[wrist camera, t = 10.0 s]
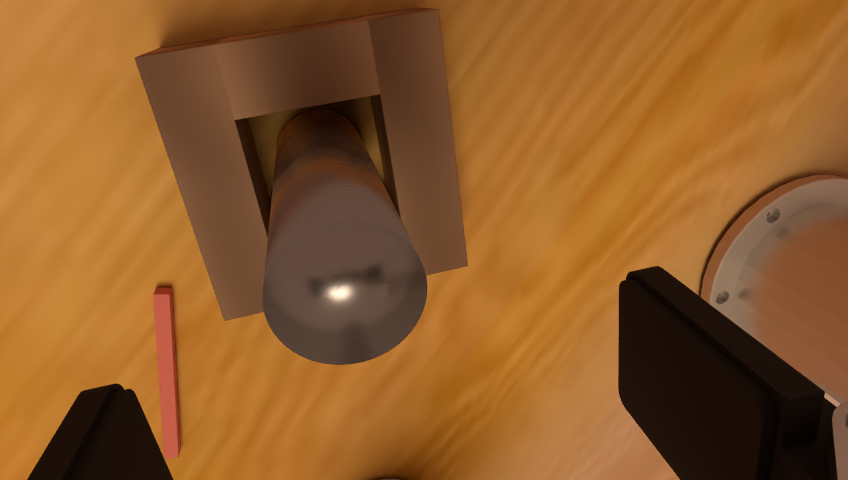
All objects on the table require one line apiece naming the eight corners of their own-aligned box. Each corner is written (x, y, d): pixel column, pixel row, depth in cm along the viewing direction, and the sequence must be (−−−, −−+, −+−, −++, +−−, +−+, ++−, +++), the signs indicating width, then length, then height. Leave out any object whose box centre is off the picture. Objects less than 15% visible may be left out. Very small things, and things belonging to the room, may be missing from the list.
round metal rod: (354, 102, 26) (415, 204, 13) (369, 184, 27) (436, 343, 15) (267, 118, 25) (242, 240, 13) (288, 200, 27) (284, 380, 14)
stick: (156, 287, 27) (153, 294, 26) (172, 287, 27) (169, 294, 27) (167, 448, 31) (164, 458, 30) (180, 447, 31) (178, 457, 30)
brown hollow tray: (417, 7, 25) (438, 9, 21) (446, 232, 29) (467, 265, 26) (159, 48, 23) (134, 57, 19) (233, 278, 28) (224, 320, 24)
